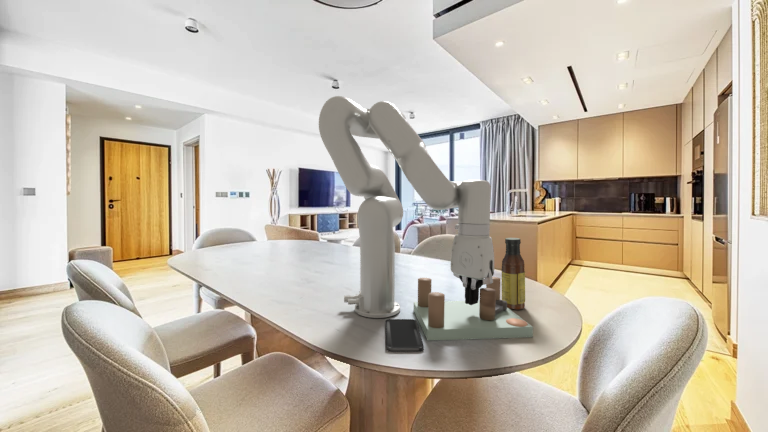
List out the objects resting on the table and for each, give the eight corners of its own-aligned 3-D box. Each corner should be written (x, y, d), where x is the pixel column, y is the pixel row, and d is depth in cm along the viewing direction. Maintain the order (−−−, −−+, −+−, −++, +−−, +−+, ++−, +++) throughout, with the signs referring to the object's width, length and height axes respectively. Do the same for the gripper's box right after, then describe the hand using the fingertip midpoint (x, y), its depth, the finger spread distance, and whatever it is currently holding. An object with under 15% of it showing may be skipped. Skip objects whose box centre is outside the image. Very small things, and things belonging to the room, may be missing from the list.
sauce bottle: (520, 303, 91) (522, 237, 90) (528, 311, 85) (530, 240, 84) (498, 302, 92) (499, 236, 91) (504, 310, 86) (505, 239, 84)
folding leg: (496, 305, 81) (497, 280, 81) (510, 308, 79) (510, 283, 79) (476, 317, 73) (477, 290, 73) (491, 321, 71) (491, 293, 70)
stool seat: (427, 340, 67) (427, 298, 67) (413, 310, 85) (413, 277, 85) (532, 337, 69) (533, 296, 69) (497, 308, 87) (498, 275, 86)
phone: (386, 348, 62) (385, 319, 77) (386, 353, 62) (385, 323, 77) (425, 348, 62) (416, 319, 77) (424, 353, 63) (416, 323, 77)
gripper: (440, 228, 79) (438, 298, 80) (492, 234, 68) (490, 315, 69) (457, 227, 84) (456, 293, 85) (510, 232, 72) (507, 308, 74)
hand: (471, 303), depth 77 cm, fingers closed
